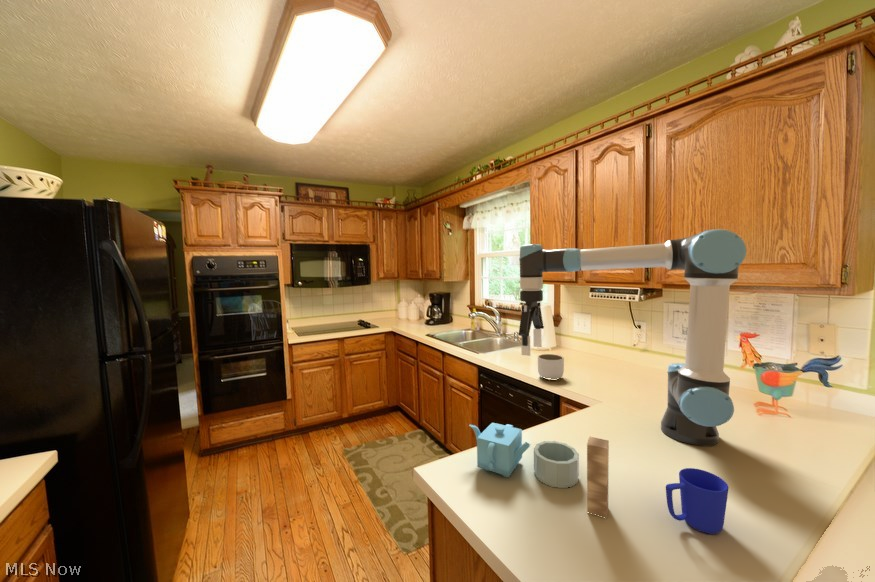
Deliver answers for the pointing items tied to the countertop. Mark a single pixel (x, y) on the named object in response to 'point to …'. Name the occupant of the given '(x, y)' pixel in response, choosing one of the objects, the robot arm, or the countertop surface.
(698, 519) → the mug
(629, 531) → the countertop surface
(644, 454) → the countertop surface
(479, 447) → the teapot
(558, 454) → the grey round bowl
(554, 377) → the planter
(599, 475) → the wooden post
